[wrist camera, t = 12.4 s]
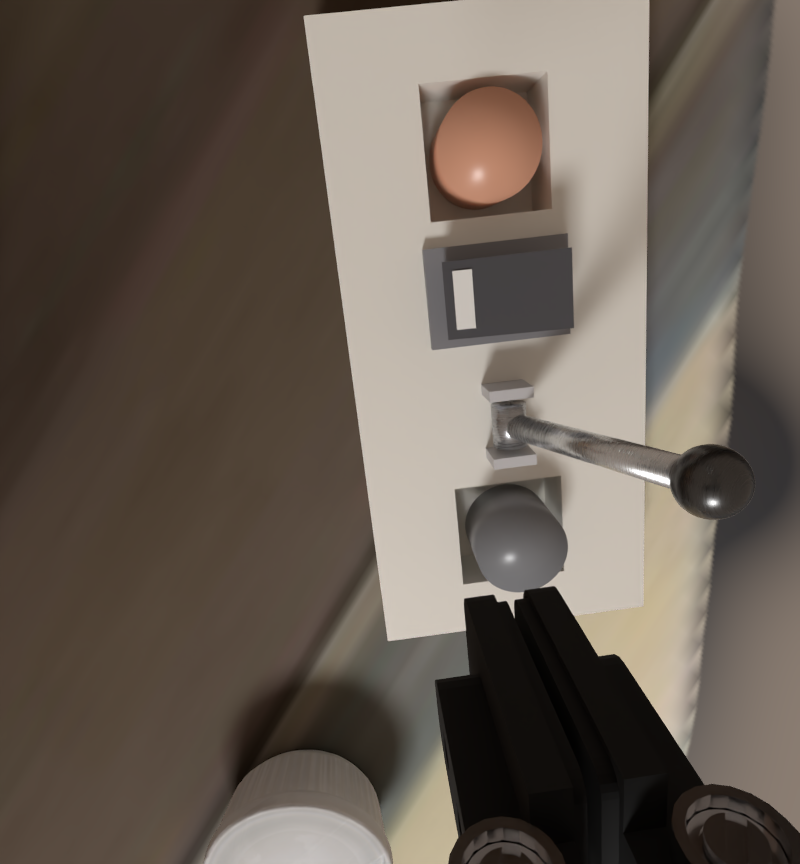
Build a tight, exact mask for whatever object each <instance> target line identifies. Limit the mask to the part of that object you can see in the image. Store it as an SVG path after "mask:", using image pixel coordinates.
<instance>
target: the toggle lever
mask: <svg viewBox="0 0 800 864" xmlns="http://www.w3.org/2000/svg"><path fill="white" fill-rule="evenodd" d="M491 419H492V433H493V446H494V448H496V449H500V450H517V449H521V448H524V447H526V446H527V445H528V444H530V445H533V446H537V447H540V448H543V449H546V450H549V451H552V452H556V453H559V454H562V455H565V456H568V457H571V458H575V459H578V460H581V461H584V462H587V463H591V464H594V465H597V466H600V467H603V468H606V469H610V470H613V471H616V472H619V473H622V474H625V475H629V476H632V477H635V478H638V479H641V480H644V481H648V482H651V483H654V484H657V485H660V486H663V487H667V488H670V489H671V492H672V494H673V497H674V498H675V500H676V501H677V503H678V504H679V505H680V506H681V507H682V508H683V509H684V510H686V511H687V512H689V513H690V514H692V515H694V516H697V517H700V518H703V519H709V520H719V519H725V518H728V517H731V516H733V515H736V514H737V513H739V512H740V511H742V510H743V509H744V508H745V507H746V506H747V505H748V503H749V502H750V500H751V498H752V496H753V493H754V490H755V478H754V474H753V471H752V468H751V466H750V465H749V463H748V462H747V461H746V460H745V458H744V457H743V456H741V455H740V454H739V453H737V452H736V451H734V450H733V449H730V448H728V447H725V446H722V445H715V444H706V445H700V446H696V447H693V448H691V449H689V450H687V451H686V452H684V453H683V454H682V455H680V454H676V453H672V452H668V451H664V450H660V449H657V448H653V447H649V446H645V445H641V444H637V443H633V442H629V441H625V440H621V439H617V438H613V437H609V436H605V435H601V434H597V433H593V432H590V431H586V430H582V429H578V428H574V427H570V426H566V425H562V424H558V423H554V422H550V421H546V420H542V419H538V418H534V417H530V416H526V402H525V401H523V400H509V401H501V402H493V403H492V404H491Z"/></svg>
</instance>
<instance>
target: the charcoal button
mask: <svg viewBox="0 0 800 864" xmlns="http://www.w3.org/2000/svg"><path fill="white" fill-rule="evenodd" d="M465 530H466V535H467V538H468V540H469V543H470V546H471V548H472V551H473V553H474V556H475V558H476V561H477V563H478V566H479V568H480V570H481V572H482V574H483V575H484V577H485V578H486V579H487V580H488V581H489V582H490V583H491V584H492V585H494V586H496V587H497V588H500V589H502V590H505V591H509V592H524V591H525V590H528V589H536V588H540V587H542V586H544V585H545V584H547V583H548V582H550V581H551V580H552V579H553V578H554V577H555V576H556V575H557V574H558V573H559V572H560V570H561V569H562V567H563V565H564V563H565V560H566V557H567V552H568V541H567V537H566V534H565V531H564V529H563V528H562V526H561V525H560V523H559V522H558V521H557V519H556V518H555V517H554V516H553V514H552V513H551V512H550V510H549V509H548V508H547V507H546V505H545V504H544V503H543V502H542V500H541V499H540V498H539V497H538V495H536V494H535V493H534V492H533V491H531V490H530V489H528V488H526V487H523V486H520V485H515V484H504V485H499V486H495V487H493V488H490V489H488V490H486V491H485V492H483V493H482V494H481V495H479V496H478V497H477V498H476V499H475V501H474V502H473V503H472V505H471V506H470V508H469V510H468V513H467V516H466V521H465Z"/></svg>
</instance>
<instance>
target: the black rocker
mask: <svg viewBox="0 0 800 864" xmlns="http://www.w3.org/2000/svg"><path fill="white" fill-rule="evenodd" d="M442 272H443V283H444V295H445V307H446V318H447V330H448V340H455V339H465V338H476V337H486V336H496V335H507V334H517V333H528V332H538V331H549V330H559V329H570V328H574V307H573V267H572V247H570V248H561V249H552V250H543V251H534V252H526V253H517V254H508V255H499V256H491V257H482V258H473V259H464V260H455V261H447V262H442Z"/></svg>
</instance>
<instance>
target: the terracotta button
mask: <svg viewBox="0 0 800 864" xmlns="http://www.w3.org/2000/svg"><path fill="white" fill-rule="evenodd" d="M541 153H542V132H541V127H540V124H539V121H538V118H537V116H536V114H535V112H534V110H533V109H532V108H531V106H530V105H529V104H528V103H527V101H526V100H525V99H523V98H522V97H521V96H520V95H518V94H517V93H515V92H513V91H511V90H509V89H506V88H502V87H495V86H490V87H482V88H478V89H475V90H472V91H470V92H468V93H467V94H465V95H464V96H462V97H461V98H460V99H459V100H457V101H456V102H455V103H454V105H453V106H452V107H451V108H450V110H449V111H448V113H447V114H446V116H445V118H444V120H443V121H442V123H441V125H440V127H439V128H438V130H437V132H436V134H435V136H434V138H433V141H432V144H431V148H430V154H429V166H430V172H431V176H432V179H433V181H434V184H435V185H436V187H437V189H438V190H439V192H440V193H441V194H442V195H443V196H444V197H445V198H446V199H447V200H448V201H449V202H451V203H452V204H454V205H456V206H458V207H461V208H465V209H471V210H479V209H484V208H488V207H491V206H493V205H495V204H497V203H499V202H501V201H503V200H505V199H507V198H510V197H512V196H513V195H515V194H516V193H518V192H519V191H521V190H522V189H523V188H524V187H525V186H526V185H527V184H528V183H529V181H530V180H531V178H532V177H533V175H534V173H535V172H536V170H537V167H538V165H539V162H540V158H541Z"/></svg>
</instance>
